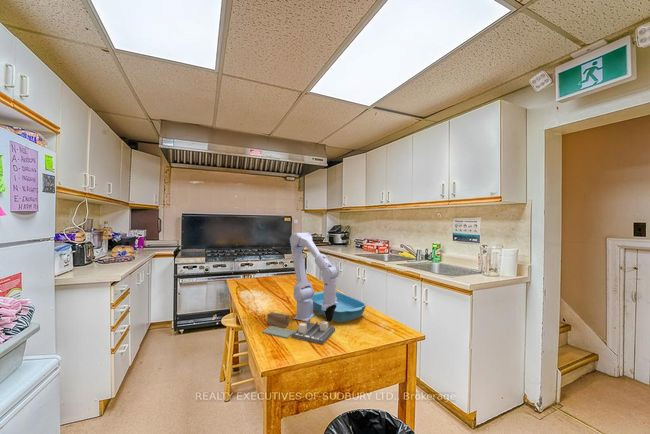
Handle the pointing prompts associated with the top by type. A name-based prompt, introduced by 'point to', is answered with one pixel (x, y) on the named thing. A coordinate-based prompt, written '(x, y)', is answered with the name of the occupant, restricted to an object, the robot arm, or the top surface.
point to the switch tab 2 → (323, 326)
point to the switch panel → (314, 333)
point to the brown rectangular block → (278, 319)
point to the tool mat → (278, 332)
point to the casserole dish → (340, 307)
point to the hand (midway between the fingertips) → (329, 320)
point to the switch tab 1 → (302, 328)
